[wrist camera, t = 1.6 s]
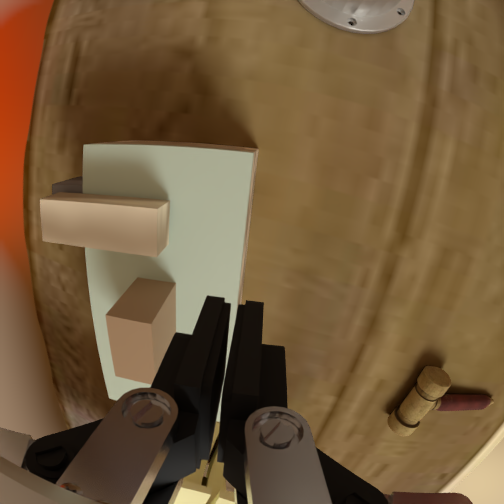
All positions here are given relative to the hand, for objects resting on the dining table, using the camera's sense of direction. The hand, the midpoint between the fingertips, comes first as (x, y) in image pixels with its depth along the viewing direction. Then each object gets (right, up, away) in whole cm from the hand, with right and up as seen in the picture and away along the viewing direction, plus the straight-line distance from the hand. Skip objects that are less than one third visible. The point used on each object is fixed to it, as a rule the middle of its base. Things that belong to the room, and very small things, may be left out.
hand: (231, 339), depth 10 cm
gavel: (+31, -19, +28) cm, 46 cm away
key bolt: (-9, +5, +11) cm, 15 cm away
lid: (-6, -1, +15) cm, 16 cm away
